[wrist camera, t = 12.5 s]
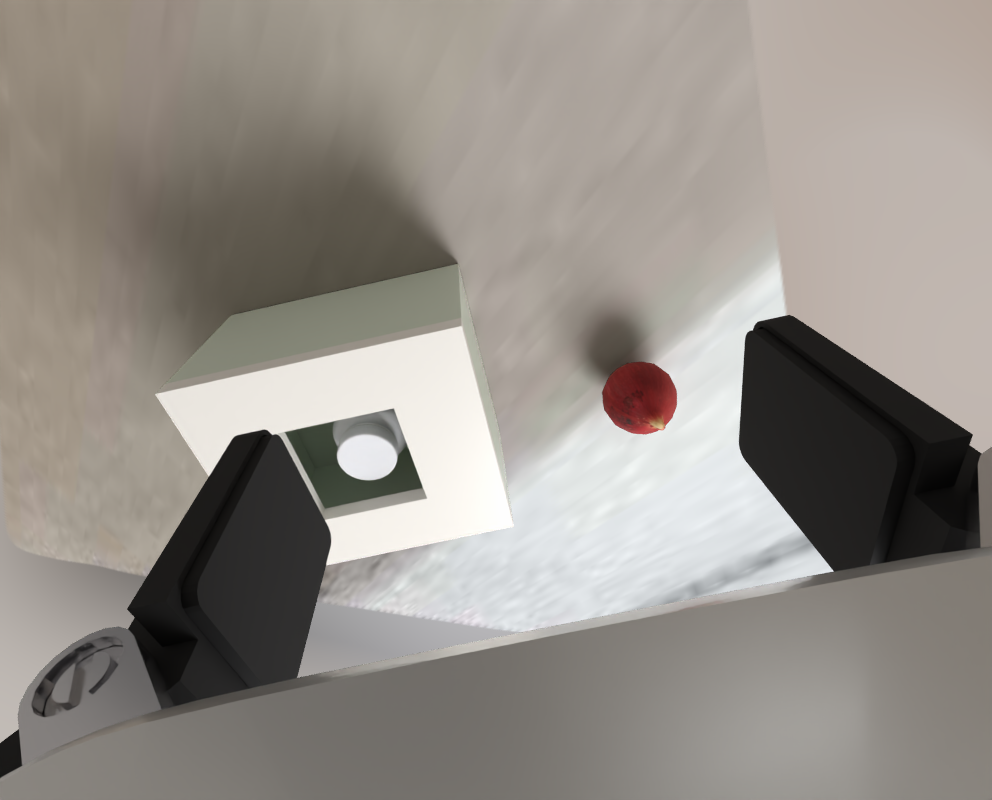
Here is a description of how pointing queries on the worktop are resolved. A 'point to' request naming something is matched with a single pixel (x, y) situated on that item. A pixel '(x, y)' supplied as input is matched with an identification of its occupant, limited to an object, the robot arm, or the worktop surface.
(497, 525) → the caddy
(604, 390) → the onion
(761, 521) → the worktop surface
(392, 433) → the supplement bottle
